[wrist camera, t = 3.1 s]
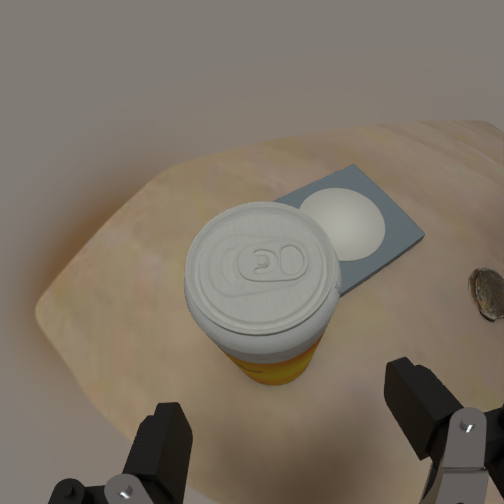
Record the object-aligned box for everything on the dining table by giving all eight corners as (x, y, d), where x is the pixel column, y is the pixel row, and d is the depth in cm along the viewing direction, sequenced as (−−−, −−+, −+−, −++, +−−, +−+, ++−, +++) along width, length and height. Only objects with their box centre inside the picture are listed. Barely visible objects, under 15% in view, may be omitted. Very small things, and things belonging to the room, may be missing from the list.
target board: (352, 170, 32) (354, 162, 31) (421, 239, 26) (426, 233, 25) (252, 217, 30) (251, 210, 29) (318, 310, 24) (320, 305, 23)
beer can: (237, 317, 24) (184, 201, 12) (308, 313, 24) (331, 189, 11) (237, 387, 21) (165, 346, 9) (313, 383, 21) (360, 338, 8)
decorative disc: (498, 266, 23) (503, 262, 23) (513, 316, 20) (518, 313, 19) (461, 271, 24) (465, 266, 23) (475, 327, 21) (480, 324, 20)
